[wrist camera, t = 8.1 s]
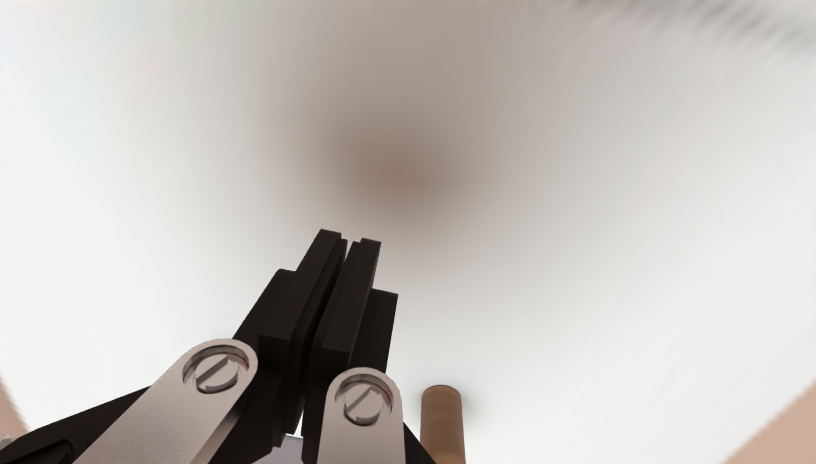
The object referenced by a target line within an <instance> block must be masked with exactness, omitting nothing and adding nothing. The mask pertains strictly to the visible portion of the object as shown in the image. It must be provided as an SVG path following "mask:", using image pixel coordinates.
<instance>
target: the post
mask: <svg viewBox="0 0 816 464" xmlns="http://www.w3.org/2000/svg"><path fill="white" fill-rule="evenodd" d="M420 443H421V445H422V446H423V447H424V448H425V450H426V451H427V452H428V453H429V455H430V456H431V457H432V459H433V460H434V461H435V462H436V464H466V461H465V447H464V433H463V419H462V405H461V396H460V394H459V393H458V392H457V391H456V390H455V389H453V388H451V387H448V386H442V385H439V386H433V387H430V388H428V389H427V390H426V391H425V392H424V393H423V395H422V404H421V429H420Z"/></svg>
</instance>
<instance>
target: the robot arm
mask: <svg viewBox="0 0 816 464" xmlns="http://www.w3.org/2000/svg"><path fill="white" fill-rule="evenodd" d="M347 242H348V241H347V240H346V239H341V233H338V232H334V231H329V230H325V229H321V230H320V231H319V233H318V234H317V236H316V238H315V239H314V241H313V243H312V244H311V246H310V248H309V249H308V251H307V253H306V255H305V256H304V258H303V260H302V261H301V263H300V265H299V266H298V268H297V270H296V271H290V270H286V269H279V270H278V271H277V272H276V273H275V275H274V276H273V278H272V279H271V281H270V282H269V284H268V285H267V287H266V288H265V290H264V291H263V293H262V294H261V296H260V297H259V299H258V300H257V302H256V303H255V305H254V306H253V308H252V309H251V311H250V312H249V314H248V315H247V317H246V318H245V320H244V321H243V323H242V324H241V326H240V327H239V329H238V330H237V332H236V333H235V335H234V336H233V338H232V339H215V340H211V341H207V342H204V343H202V344H199V345H197V346H195V347H193V348H191V349H190V350H189V351H188V352H186V353H185V354H184V355H182V356H181V357H180V358H179V359H178V360H177V361H176V362H175V363H174V364H173V365H172V366H171V367H170V368H169V369H168V370H167V371H166V372H165V373H164V374H163V375H162V376H161V377H160V378H159V379H158V380H157V381H156V382H155V383H154V384H153V385H151V386H148V387H146V388H143V389H141V390H138V391H135V392H133V393H130V394H127V395H125V396H122V397H120V398H117V399H114V400H112V401H109V402H106V403H104V404H101V405H99V406H96V407H93V408H91V409H88V410H85V411H83V412H80V413H77V414H75V415H72V416H70V417H67V418H64V419H62V420H59V421H56V422H54V423H51V424H49V425H46V426H43V427H41V428H38V429H36V430H34V431H32V432H30V433H27V434H25V435H23V436H21V437H19V438H13V439H12V438H10V436H9V434H8V433H0V464H255V463H256V461H258V460H259V459H261V458H263V457H265V456H266V455H268V454H270V453H271V452H272V449H273V447H278V448H281V445H282V443H283V440H284V437H285V435H286V433H287V434H292V435H294V433H295V431H296V429H297V426H298V423H299V420H300V418H301V415H302V412H303V419H302V428H301V436H302V437H303V445H302V454H301V460H302V462H303V464H436V462H435V461H434V460H433V459H432V457H431V456H430V455H429V453H428V452H427V451H426V450H425V448H424V447H423V446H422V445H421V443H420V442H419V441H418V440H417V438H416V437H415V436H414V434H413V433H412V432H411V431H410V429H409V428H408V427H407V426H406V424H405V423H404V422H403V413H402V400H401V396H400V391H399V389H398V388H397V386H396V384H395V383H394V381H393V380H391V379H390V378H389V377H388V376H387V375H386V374H385V373H386V367H387V361H388V354H389V348H390V342H391V336H392V330H393V323H394V317H395V311H396V305H397V298H398V294H396V293H391V292H387V291H382V290H377V289H373V288H372V286H373V281H374V276H375V271H376V266H377V261H378V256H379V252H380V247H381V242H379V241H374V240H370V239H365V238H362V239H361V241H360V243H359V242H355V241H353V243H352V245H351V248H350V250H349V252H348V255H347V257H346V260H345V256H346V250H347ZM303 409H304V410H303Z"/></svg>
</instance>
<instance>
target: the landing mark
mask: <svg viewBox="0 0 816 464" xmlns="http://www.w3.org/2000/svg"><path fill="white" fill-rule="evenodd" d="M302 445H303V439H299V438H294V437H289V436H285V437H284V440H283V443H282V445H281V448H278V447H273V449H272V452H271V453H270V454H268V455H266V456H265V457H263V458H261V459H259V460H258V461H256V463H255V464H303V462H302V460H301V454H302Z"/></svg>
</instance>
